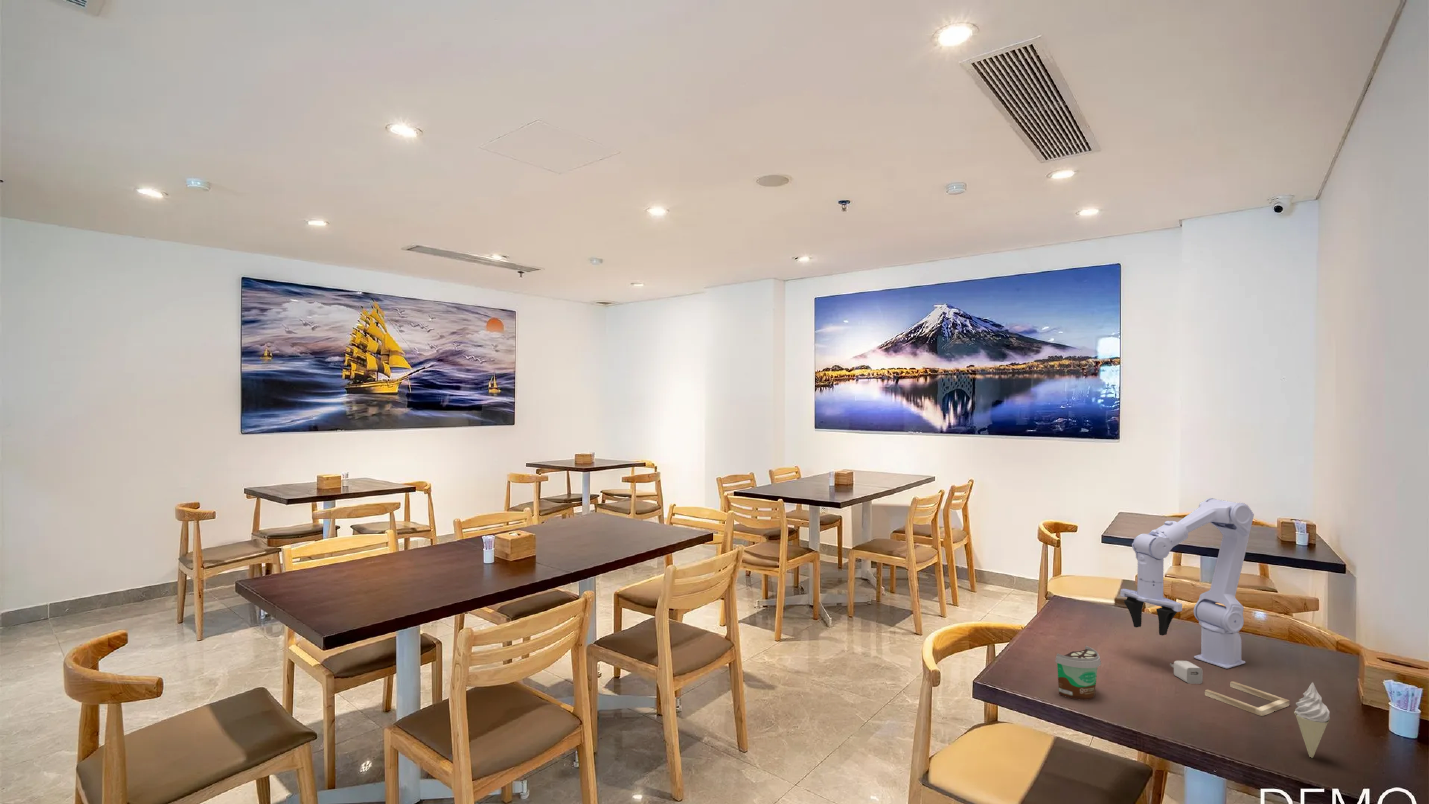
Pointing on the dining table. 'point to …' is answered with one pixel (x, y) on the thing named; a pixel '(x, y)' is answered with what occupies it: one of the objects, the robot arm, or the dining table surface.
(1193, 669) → the usb wall charger
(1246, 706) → the charger bay
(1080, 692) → the food container
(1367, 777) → the dining table surface
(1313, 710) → the ice cream cone
